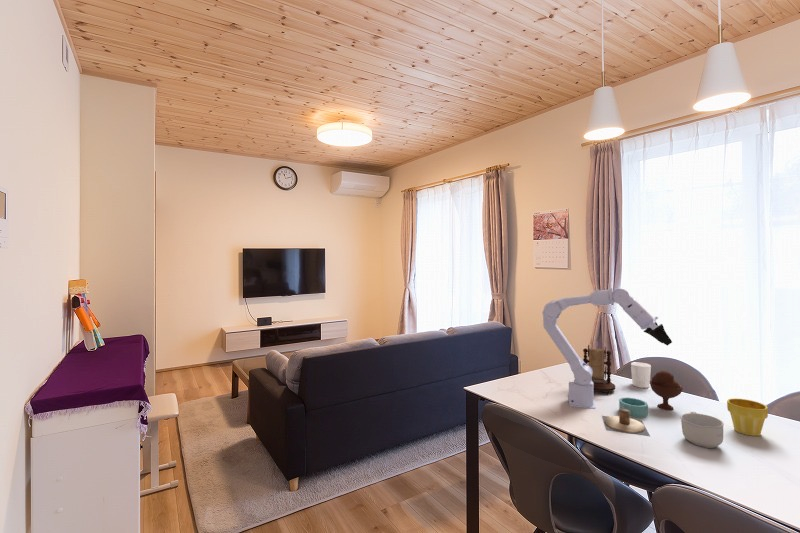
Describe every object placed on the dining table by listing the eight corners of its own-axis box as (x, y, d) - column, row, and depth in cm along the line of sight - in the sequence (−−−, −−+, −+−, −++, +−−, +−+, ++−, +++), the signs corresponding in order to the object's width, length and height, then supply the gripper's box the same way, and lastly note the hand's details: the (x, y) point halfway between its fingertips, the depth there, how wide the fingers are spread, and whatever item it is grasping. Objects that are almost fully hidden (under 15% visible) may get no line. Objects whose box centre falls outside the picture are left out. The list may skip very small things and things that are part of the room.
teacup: (726, 455, 116) (726, 429, 115) (682, 446, 121) (682, 421, 121) (718, 437, 127) (718, 413, 127) (678, 429, 133) (678, 406, 133)
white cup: (654, 388, 175) (654, 366, 175) (637, 388, 175) (637, 366, 175) (643, 382, 183) (644, 362, 183) (627, 382, 183) (627, 362, 183)
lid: (607, 429, 133) (607, 414, 132) (603, 416, 144) (603, 402, 144) (648, 435, 128) (648, 419, 128) (640, 421, 139) (640, 406, 139)
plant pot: (723, 430, 132) (723, 402, 132) (731, 422, 138) (731, 395, 138) (764, 441, 124) (764, 411, 124) (770, 432, 130) (771, 404, 130)
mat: (606, 431, 132) (606, 429, 132) (601, 416, 144) (601, 415, 144) (650, 437, 127) (650, 436, 127) (641, 421, 140) (641, 420, 139)
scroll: (577, 391, 172) (577, 347, 172) (580, 382, 185) (580, 340, 185) (615, 396, 165) (615, 350, 164) (615, 386, 178) (615, 344, 177)
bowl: (621, 416, 144) (621, 404, 144) (617, 407, 153) (617, 396, 153) (649, 420, 141) (650, 407, 141) (644, 410, 150) (644, 399, 149)
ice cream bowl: (688, 414, 146) (688, 375, 146) (655, 412, 148) (656, 373, 148) (674, 403, 156) (674, 367, 156) (644, 402, 159) (644, 366, 158)
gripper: (651, 307, 138) (682, 337, 134) (643, 306, 152) (671, 334, 147) (634, 319, 140) (664, 350, 136) (628, 318, 153) (655, 345, 149)
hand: (667, 342), depth 142 cm, fingers open, 7 cm apart
